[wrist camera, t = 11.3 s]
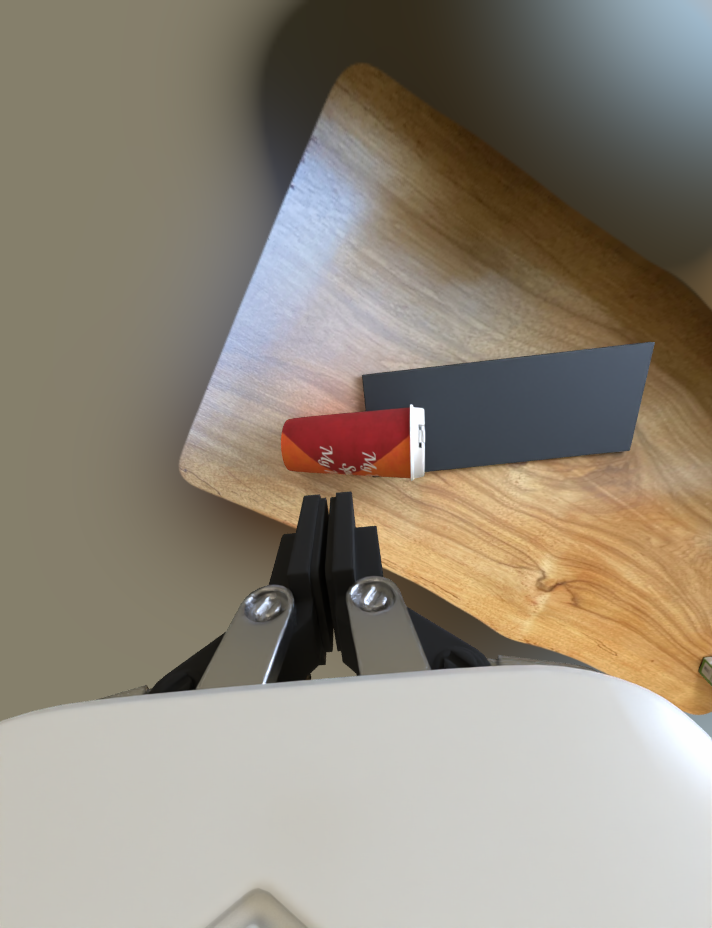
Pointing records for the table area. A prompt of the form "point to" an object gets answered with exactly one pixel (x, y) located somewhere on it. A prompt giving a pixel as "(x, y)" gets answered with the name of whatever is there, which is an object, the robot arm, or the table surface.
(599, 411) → the mat
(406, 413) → the paper cup
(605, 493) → the table surface
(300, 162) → the table surface
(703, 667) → the ink box
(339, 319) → the table surface
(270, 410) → the table surface
